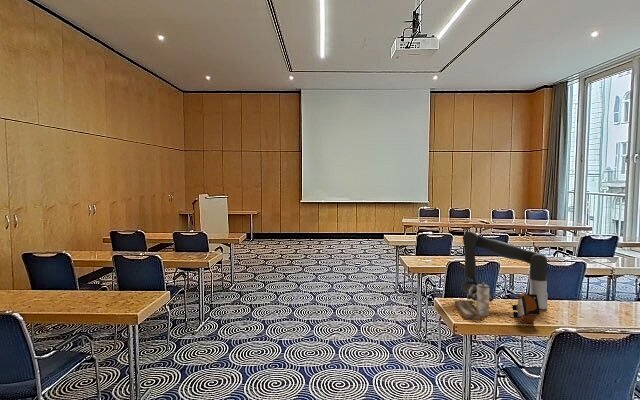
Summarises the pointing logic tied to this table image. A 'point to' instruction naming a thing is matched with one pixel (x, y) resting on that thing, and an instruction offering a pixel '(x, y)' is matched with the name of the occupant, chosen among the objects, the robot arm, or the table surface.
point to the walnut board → (467, 310)
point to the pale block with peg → (482, 299)
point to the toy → (527, 308)
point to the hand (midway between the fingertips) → (483, 299)
